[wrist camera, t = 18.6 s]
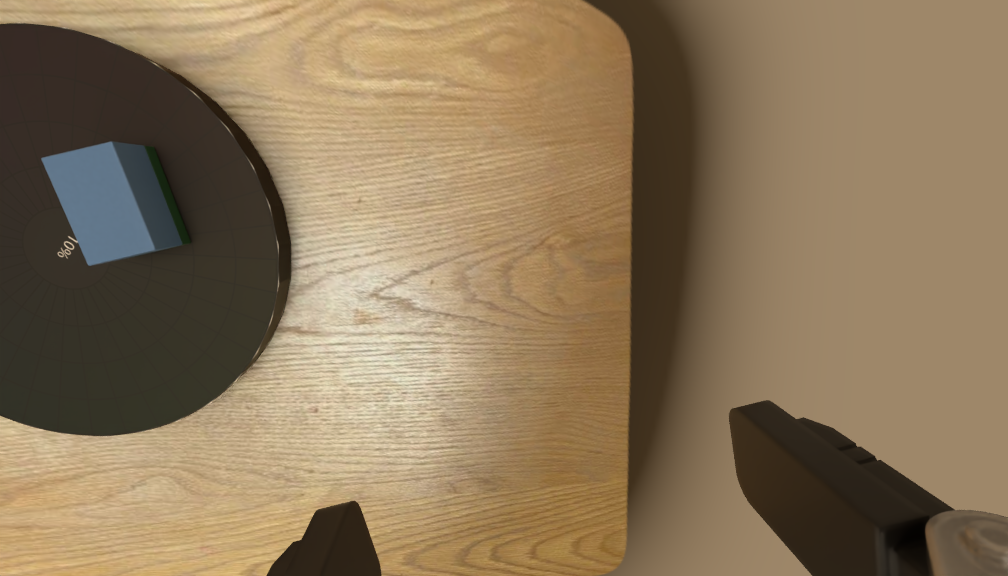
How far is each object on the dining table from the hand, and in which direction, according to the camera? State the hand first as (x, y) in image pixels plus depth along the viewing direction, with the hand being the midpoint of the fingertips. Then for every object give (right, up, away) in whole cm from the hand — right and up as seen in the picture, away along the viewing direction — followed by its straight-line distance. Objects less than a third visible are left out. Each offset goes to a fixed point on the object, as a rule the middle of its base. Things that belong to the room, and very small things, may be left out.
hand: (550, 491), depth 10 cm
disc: (-33, +8, +27) cm, 43 cm away
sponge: (-27, +10, +24) cm, 37 cm away
